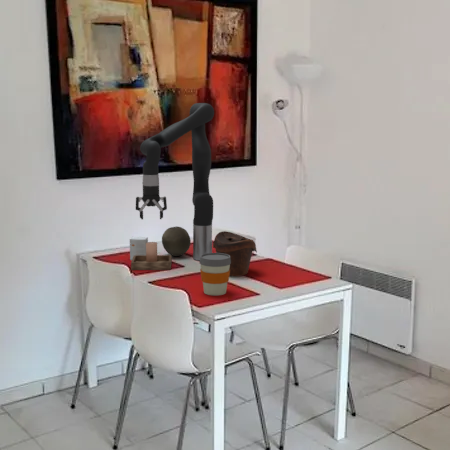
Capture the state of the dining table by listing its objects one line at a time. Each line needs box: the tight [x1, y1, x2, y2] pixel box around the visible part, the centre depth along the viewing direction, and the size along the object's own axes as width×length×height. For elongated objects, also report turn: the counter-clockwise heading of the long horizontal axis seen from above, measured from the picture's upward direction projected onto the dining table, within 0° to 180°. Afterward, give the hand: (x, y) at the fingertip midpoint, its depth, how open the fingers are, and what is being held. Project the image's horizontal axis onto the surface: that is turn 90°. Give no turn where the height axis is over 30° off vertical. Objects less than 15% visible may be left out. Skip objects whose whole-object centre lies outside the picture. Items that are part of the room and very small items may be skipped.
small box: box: [129, 236, 149, 261], centre depth 305 cm, size 8×6×10 cm
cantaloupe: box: [161, 226, 192, 257], centre depth 311 cm, size 14×14×15 cm
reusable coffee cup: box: [199, 252, 231, 296], centre depth 252 cm, size 13×13×15 cm
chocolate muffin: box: [212, 230, 258, 277], centre depth 281 cm, size 18×20×18 cm
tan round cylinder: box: [146, 241, 158, 262], centre depth 292 cm, size 5×5×10 cm
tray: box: [130, 254, 173, 271], centre depth 292 cm, size 18×14×4 cm
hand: (151, 219), depth 289 cm, fingers open, 8 cm apart
